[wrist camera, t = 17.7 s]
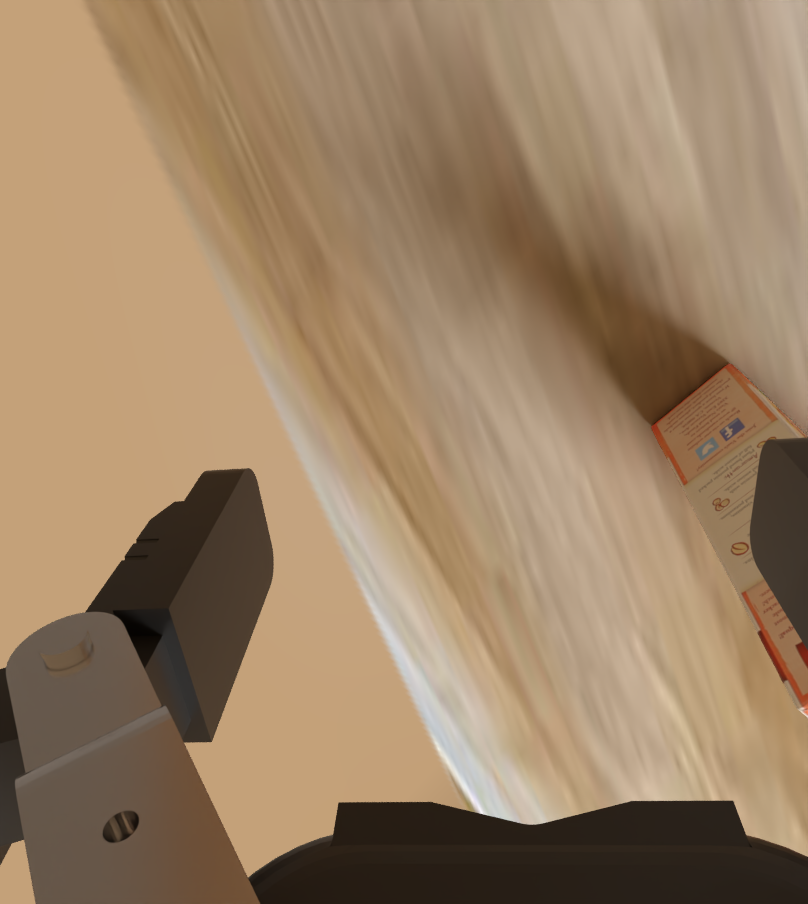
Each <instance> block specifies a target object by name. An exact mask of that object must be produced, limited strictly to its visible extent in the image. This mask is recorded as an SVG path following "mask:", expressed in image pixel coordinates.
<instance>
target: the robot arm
mask: <svg viewBox="0 0 808 904" xmlns="http://www.w3.org/2000/svg"><path fill="white" fill-rule="evenodd" d="M136 540H137V542H136V544H133V545H132V547H131V548H130V549H129V551H128V552H127V554H126V555H125V560H124V561H121V562H120V564H119V565H118V566H117V568H116V569H115V571H114V572H113V574H112V575H111V576H110V578H109V579H108V581H107V582H106V584H105V585H104V586H103V588H102V589H101V591H100V592H99V593H98V595H97V596H96V598H95V599H94V601H93V602H92V603H91V605H90V606H89V608H88V609H87V610H86V612H85V613H80V614H75V615H71V616H67V617H65V618H61V619H59V620H56V621H54V622H52V623H50V624H48V625H46V626H44V627H42V628H41V629H39V630H37V631H36V632H34V633H33V634H32V635H30V636H29V637H28V638H26V639H25V640H24V641H23V642H22V643H21V644H20V645H19V646H18V647H17V648H16V649H15V651H14V652H13V653H12V655H11V656H10V658H9V661H8V662H7V666H6V668H3V669H0V865H1V863H2V861H3V859H4V857H5V855H6V853H7V851H8V849H9V848H10V846H11V844H12V843H14V842H18V841H21V840H24V841H25V846H26V852H27V858H28V863H29V869H30V874H31V880H32V886H33V891H34V896H35V902H36V904H808V857H807V856H804V855H802V854H800V853H798V852H795V851H793V850H791V849H789V848H786V847H783V846H780V845H777V844H774V843H771V842H768V841H765V840H762V839H759V838H755V837H751V836H747V835H746V834H745V831H744V828H743V826H742V823H741V820H740V818H739V815H738V813H737V810H736V807H735V805H734V802H733V801H630V802H627V803H623V804H619V805H615V806H611V807H607V808H603V809H599V810H595V811H591V812H587V813H583V814H579V815H575V816H571V817H567V818H563V819H559V820H555V821H551V822H547V823H543V824H537V825H527V824H521V823H517V822H512V821H508V820H504V819H500V818H496V817H492V816H487V815H483V814H479V813H475V812H471V811H466V810H462V809H458V808H454V807H450V806H445V805H441V804H437V803H433V802H356V803H355V802H353V803H351V802H349V803H339V804H338V810H337V815H336V821H335V827H334V834H333V835H331V836H326V837H323V838H319V839H317V840H314V841H311V842H309V843H306V844H304V845H301V846H299V847H296V848H294V849H293V850H291V851H289V852H287V853H285V854H283V855H281V856H279V857H277V858H275V859H274V860H272V861H271V862H269V863H268V864H266V865H265V866H263V867H262V868H260V869H259V870H257V871H256V872H255V873H253V874H252V875H251V876H250V877H247V875H246V873H245V871H244V869H243V866H242V864H241V862H240V860H239V858H238V856H237V854H236V852H235V850H234V847H233V845H232V843H231V841H230V839H229V837H228V835H227V833H226V831H225V828H224V827H223V824H222V822H221V820H220V818H219V816H218V814H217V812H216V810H215V808H214V805H213V803H212V801H211V799H210V797H209V795H208V793H207V791H206V788H205V786H204V784H203V782H202V780H201V778H200V776H199V774H198V772H197V769H196V768H195V765H194V763H193V761H192V759H191V757H190V755H189V753H188V750H187V749H186V746H185V744H184V742H212V740H213V737H214V734H215V732H216V729H217V726H218V724H219V721H220V719H221V716H222V713H223V711H224V708H225V705H226V703H227V700H228V697H229V695H230V692H231V689H232V687H233V684H234V681H235V678H236V676H237V673H238V670H239V668H240V665H241V662H242V660H243V657H244V655H245V652H246V649H247V647H248V644H249V641H250V638H251V636H252V633H253V630H254V628H255V625H256V623H257V620H258V617H259V614H260V612H261V609H262V607H263V604H264V601H265V598H266V596H267V593H268V591H269V588H270V585H271V581H272V577H273V549H272V544H271V540H270V535H269V531H268V527H267V522H266V517H265V513H264V509H263V504H262V500H261V496H260V491H259V487H258V483H257V479H256V476H255V474H254V472H253V471H252V470H251V469H249V468H247V469H230V470H212V471H205V472H203V473H202V475H201V476H200V478H199V479H198V481H197V482H196V484H195V485H194V487H193V488H192V490H191V491H190V493H189V494H188V496H187V497H186V499H185V501H181V502H180V501H179V502H174V503H172V504H171V505H170V506H168V507H167V508H166V509H164V510H163V511H161V512H160V513H159V514H157V515H156V516H155V517H153V518H152V519H151V520H150V521H149V522H148V524H147V525H146V527H145V528H144V529H143V531H142V532H141V534H140V535H139V537H138V538H137V539H136ZM750 544H751V550H752V555H753V558H754V561H755V563H756V566H757V568H758V569H759V571H760V573H761V574H762V576H763V578H764V579H765V581H766V583H767V584H768V586H769V587H770V589H771V591H772V592H773V594H774V596H775V597H776V599H777V601H778V602H779V604H780V606H781V607H782V609H783V611H784V612H785V614H786V616H787V617H788V619H789V620H790V622H791V624H792V625H793V627H794V629H795V630H796V632H797V634H798V635H799V637H800V639H801V640H802V642H803V644H804V645H805V647H806V649H807V650H808V437H804V438H787V439H770V440H767V441H766V442H765V443H764V445H763V447H762V450H761V454H760V459H759V466H758V473H757V480H756V488H755V495H754V502H753V509H752V516H751V523H750Z"/></svg>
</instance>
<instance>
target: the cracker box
mask: <svg viewBox="0 0 808 904" xmlns="http://www.w3.org/2000/svg"><path fill="white" fill-rule="evenodd" d="M651 428H652V431H653V433H654V435H655V437H656V439H657V441H658V443H659V445H660V446H661V448H662V450H663V452H664V454H665V456H666V458H667V460H668V462H669V464H670V466H671V467H672V469H673V471H674V473H675V475H676V477H677V479H678V481H679V483H680V485H681V487H682V488H683V490H684V492H685V494H686V496H687V498H688V500H689V502H690V504H691V506H692V508H693V510H694V512H695V514H696V516H697V517H698V519H699V521H700V523H701V525H702V527H703V529H704V531H705V533H706V535H707V537H708V539H709V541H710V543H711V544H712V546H713V548H714V550H715V552H716V554H717V556H718V558H719V560H720V562H721V563H722V565H723V567H724V569H725V571H726V573H727V575H728V577H729V578H730V580H731V582H732V584H733V586H734V588H735V590H736V592H737V594H738V596H739V598H740V600H741V602H742V604H743V606H744V608H745V610H746V612H747V614H748V616H749V618H750V620H751V622H752V624H753V626H754V628H755V630H756V631H757V633H758V635H759V637H760V639H761V641H762V643H763V645H764V647H765V649H766V651H767V653H768V654H769V656H770V658H771V660H772V662H773V664H774V666H775V668H776V670H777V672H778V673H779V676H780V678H781V680H782V682H783V683H784V684H785V687H786V689H787V691H788V693H789V695H790V697H791V699H792V701H793V703H794V705H795V706H796V708H797V709H798V710H799V711H800V712H801V713H803V714H804V715H805V716H806V717H808V650H807V649H806V647H805V645H804V644H803V642H802V640H801V639H800V637H799V635H798V634H797V632H796V630H795V629H794V627H793V625H792V624H791V622H790V620H789V619H788V617H787V616H786V614H785V612H784V611H783V609H782V607H781V606H780V604H779V602H778V601H777V599H776V597H775V596H774V594H773V592H772V591H771V589H770V587H769V586H768V584H767V583H766V581H765V579H764V578H763V576H762V574H761V573H760V571H759V569H758V568H757V566H756V563H755V561H754V558H753V555H752V550H751V544H750V523H751V516H752V509H753V502H754V495H755V488H756V480H757V473H758V466H759V459H760V454H761V450H762V447H763V445H764V443H765V442H766V441H767V440H770V439H787V438H804V437H807V436H806V435H805V434H804V433H803V432H802V431H801V430H800V429H799V428H798V427H797V426H796V425H795V424H794V423H793V422H792V421H791V420H790V419H789V418H788V417H787V416H786V415H785V414H784V413H783V412H782V411H780V410H779V409H778V408H777V407H776V406H775V405H774V404H773V403H772V402H771V401H770V400H769V399H768V398H767V397H766V396H765V395H764V394H763V393H762V392H761V391H760V390H759V389H758V388H757V387H756V386H755V385H754V384H752V383H751V382H750V381H749V380H748V379H747V378H746V377H745V376H744V375H743V374H742V373H741V372H740V371H739V370H738V369H736V368H735V367H734V366H733V365H732V364H730V363H729V364H727V365H726V366H725V367H723V368H722V369H721V370H720V371H718V372H717V373H716V374H715V375H714V376H712V377H711V378H710V379H709V380H707V381H706V382H705V383H704V384H703V385H701V386H700V387H699V388H698V389H697V390H695V391H694V392H693V393H692V394H690V395H689V396H688V397H687V398H686V399H684V400H683V401H682V402H681V403H679V404H678V405H677V406H676V407H675V408H673V409H672V410H671V411H670V412H669V413H667V414H666V415H665V416H664V417H663V418H661V419H660V420H659V421H657V422H656V423H655V424H654V425H652V427H651Z"/></svg>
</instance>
